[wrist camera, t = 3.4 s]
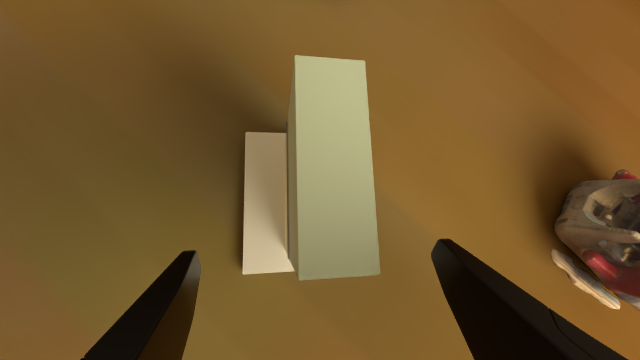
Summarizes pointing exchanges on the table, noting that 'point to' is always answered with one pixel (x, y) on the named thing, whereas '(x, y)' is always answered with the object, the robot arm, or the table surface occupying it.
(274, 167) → the cream stepped block
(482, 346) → the robot arm
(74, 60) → the table surface
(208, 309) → the table surface
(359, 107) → the pale green block
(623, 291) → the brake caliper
